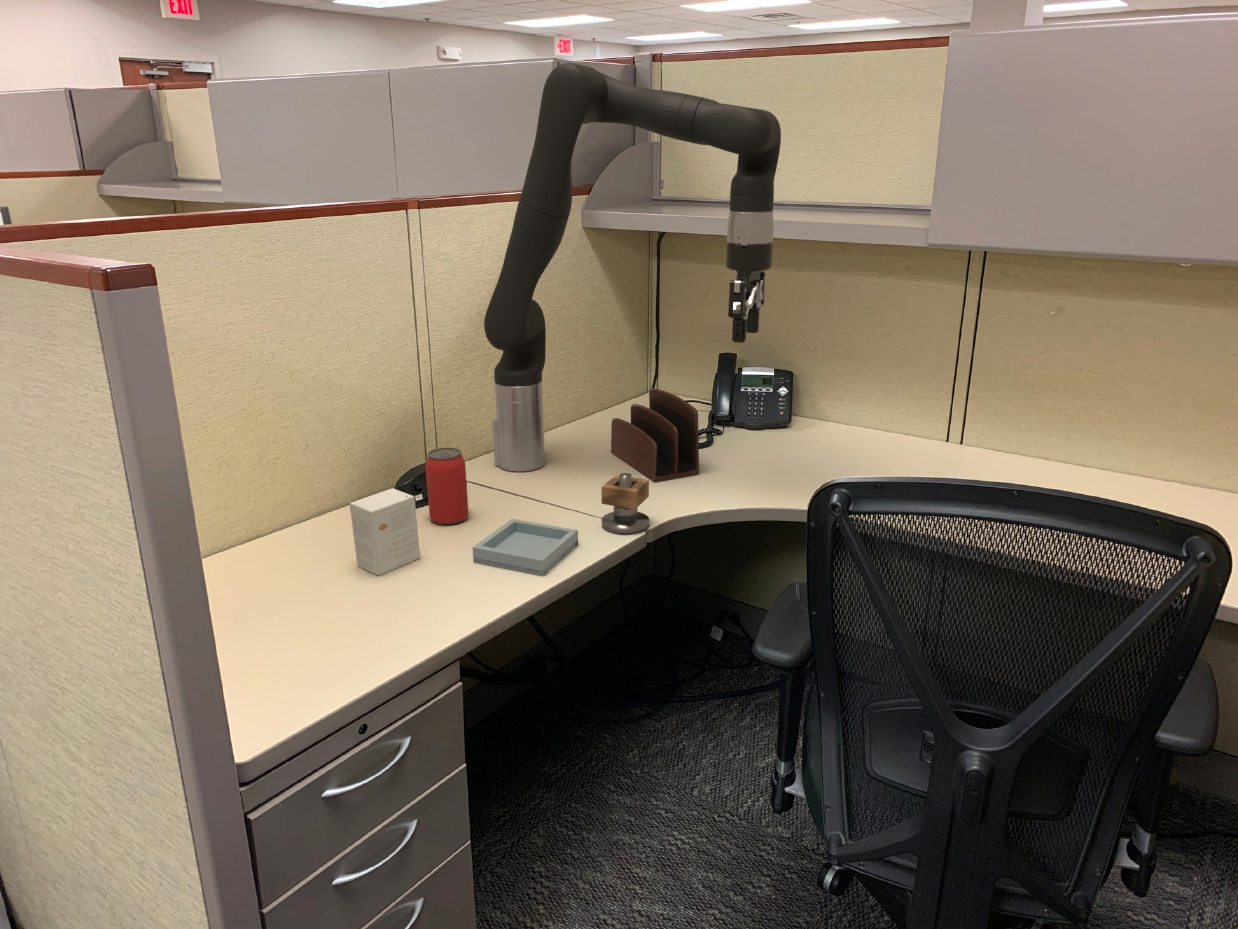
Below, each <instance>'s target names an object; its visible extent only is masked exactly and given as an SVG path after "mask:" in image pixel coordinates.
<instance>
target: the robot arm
mask: <svg viewBox="0 0 1238 929" xmlns="http://www.w3.org/2000/svg"><path fill="white" fill-rule="evenodd" d="M590 123H597V124H598V123H603V124H604V123H606V124H607V123H608V124H609V123H611V124H622V125H627V126H632V127H636V128H640V129H643V130H645V131H649V132H651V133H655V134H657V135H660V136H663V137H666V138H669V139H674V140H678V141H680V142H681V141H682V142H687V143H691V144H695V145H700V146H709V147H712V148H715V149H719V150H721V151H725V152H728V153H730V154H731V153H732V154H735V155H738V156H737V157H738V158H737V166H736V167H737V168H736V173H735V175H734V176H733V177H732V179H731V183H730V191H729V193H730V194H729V213H728V214H729V215H728V220H727V227H726V228H727V231H726V255H725V256H726V259H725V266H726V268H727V270H732V271H736V279H731V280H730V281H729V297H728V312H727V316H728V318H730V320H732V327H731V328H732V330H731V332H732V333H731V335H732V336H731V340H732V342H733V343H742V344H743V343H744V342H746V340H747V334H757V333H758V332H759V328H760V327H759V326H760V314H761V313H760V311H762V308H763V306H764V304H765V284H766V283H765V282H766V273H765V272H766V271H768V270H770V269H771V268H772V267H773V266H772V265H773V262H772V261H773V247H774V246H773V244H774V230H775V229H774V226H775V225H774V201H775V200H774V199H775V198H774V197H775V196H774V195H775V177H776V172H777V167H778V162H779V157H780V151H781V143H782V142H781V140H782V131H781V130H782V129H781V124H780V121H779V120H778V118H777V116H775V115H774V113H772V112H771V111H769V110H766V109H762V108H761V109H760V108H759V109H758V108H755V107H747V106H740V105H735V104H730V103H721V102H719V101H717V100H714V99H710V98H706V97H702V96H697V95H692V94H688V93H683V92H679V91H678V92H677V91H672V90H671V91H669V90H662V89H653V88H646V87H641V86H637V85H634V84H631V83H628V82H624V81H621V80H619V79H616V78H614V77H612V76H609V75H607V74H605V73H602V72H600V71H599V70H597V69H595V68H594V67H592V66H589V65H583V64H579V63H574V62H573V63H572V62H565V63H561V64H559V65H557V66H555V67H554V68H553V69H552V70H551V71H550V73H549V74H548V75H547V77H546V80H545V82H544V86H543V90H542V94H541V100H540V106H539V113H538V119H537V125H536V131H535V138H534V143H533V146H532V151H531V154H530V159H529V162H528V166H527V170H526V174H525V178H524V182H523V186H522V190H521V193H520V195H519V200H518V204H517V207H516V211H515V214H514V219H513V224H512V229H511V232H510V237H509V240H508V243H507V246H506V250H505V251H506V252H505V255H504V257H503V258H504V259H503V263H502V267H501V270H500V274H499V277H498V278H497V279H498V280H497V283H496V285H495V288H494V290H493V292H492V295H491V298H490V300H489V304H488V306H487V308H486V313H485V316H484V321H483V328H484V329H483V330H484V334H485V337H486V339H487V341H488V342H489V344H490V345H491V346H492V347H493V348H494V349H497V350H499V351H502V355H501V357H500V359H499V362H498V363H497V364H496V366H495V367H494V370H493V371H494V372H493V376H494V378H493V380H494V394H495V395H494V396H495V397H494V398H495V414H496V418H494V419H493V420H492V435H493V436H492V438H493V440H492V441H493V455H494V458H493V459H494V466H496V467H499V468H501V469H503V470H505V471H509V472H529V471H534V470H538V469H541V468H543V467H544V466H545V465H546V452H545V426H544V425H545V424H544V423H545V422H544V396H543V394H544V393H543V371H544V368H545V364H546V349H547V348H546V345H547V344H546V341H547V340H546V338H547V336H546V335H547V331H546V329H547V328H546V319H545V315H544V311H543V309H542V307H541V306H540V304H539V303H538V302H537V301H536V300H534V299H533V296H534V293H535V290H536V287H537V285H538V282H539V280H540V278H542V276H543V274H544V272H545V271H546V269H547V268H548V266H549V264H550V263H551V261H552V260H553V257H554V256H555V254H556V252H557V251H558V249H559V247H560V245H561V243H562V242H563V241H562V240H563V237H564V235H565V231H566V228H567V225H568V222H569V217H570V214H571V209H572V204H573V203H572V202H573V180H572V161H573V154H574V150H575V146H576V144H577V141H578V137H579V134H580V131H581V129H582V126H583V125H585V124H586V125H588V124H590ZM738 309H739V310H738Z"/></svg>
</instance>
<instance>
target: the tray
mask: <svg viewBox="0 0 1238 929" xmlns="http://www.w3.org/2000/svg"><path fill="white" fill-rule="evenodd" d="M577 546H579V530H578V529H575V528H567V527H563V526H562V527H561V526H557V525H556V526H555V525H551V524H545V523H541V522H540V523H539V522H534V521H528V520H523V519H522V520H521V519H517V518H510V520H508V521H507V522H505V523H504V524H503V525H501V526H500V527H499V528H497V529H495V531H493V532H492V533H490V534H489V535H488V536H486V537H485V538H483V539H482V540H481V541H479V542H478V543H477V544H475V545H474V546H472V557H473V558H472V560H473V563H476V564H481V565H485V566H486V565H487V566H491V567H496V568H501V569H506V570H510V571H516V572H521V573H527V574H531V575H536V576H541V577H543V576H545V575H546V574H547V573H548V572H549V571H550V570H551V569H553V568H554V567H555V566H556V565H557V564H558V563H559V562H560V561H561V560H563V559H564V558H565V557H566V556H567V555H568V554H569V553H570V552H571V551H573V549H575V548H576V547H577Z"/></svg>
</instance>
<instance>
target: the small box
mask: <svg viewBox="0 0 1238 929" xmlns="http://www.w3.org/2000/svg"><path fill="white" fill-rule="evenodd" d="M349 508H350V517H351V524H352V525H351V526H352V532H353V533H352V536H353V540H354V541H353V542H354V551H355V557H356V564H357V566H358V568H361V569H364V570H365V571H368V572H369V573H373V574H374V575H377V576H382V575H384V574H386V573H389V572H391V571H393V570H395V569H398V568H400V567H402V566H404V565H407V564H409V563H412V562H414V561H416V560H419V559H420V558H421V550H420V549H421V548H420V538H419V531H418V528H419V527H418V519H417V509H416V498H415V496H414V495H411V494H408V493H406V492H403V491H401V490H398V489H396V488H393V487H392V488H389V489H386V490H383V491H380V492H378V493H374V494H372V495H369V496H366V497H364V498H360V499H358V500H355V501H352V502H350V503H349Z"/></svg>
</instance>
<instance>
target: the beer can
mask: <svg viewBox="0 0 1238 929" xmlns="http://www.w3.org/2000/svg"><path fill="white" fill-rule="evenodd" d="M466 470H467V468H466V461H465V458H464V457H463V455H462V451H461V449H459V448H458V447H449V446H448V447H438V448H434V449H431V450H430V451H428V452H427V458H426V463H425V475H426V476H425V479H426V489H427V501H428V511H429V512H428V513H429V519H430V520H431V522H434V523H435V524H437V525H441V526H442V525H443V526H445V525H448V526H449V525H456V524H460V523H462V522H464V521H465V520H466V519H467V518H469V514H470V513H469V499H468V486H467V473H466V472H467V471H466Z"/></svg>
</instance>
